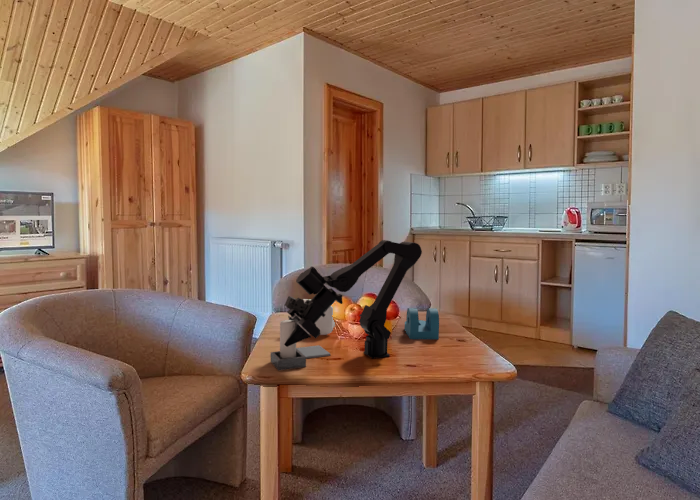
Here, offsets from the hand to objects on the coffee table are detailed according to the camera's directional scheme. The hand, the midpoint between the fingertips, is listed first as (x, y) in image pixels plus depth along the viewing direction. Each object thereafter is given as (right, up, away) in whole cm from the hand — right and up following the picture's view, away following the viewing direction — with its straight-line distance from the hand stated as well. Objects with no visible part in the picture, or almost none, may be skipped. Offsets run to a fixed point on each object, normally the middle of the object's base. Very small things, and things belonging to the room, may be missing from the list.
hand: (283, 343), depth 139 cm
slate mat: (+7, -6, +12) cm, 15 cm away
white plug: (+1, -7, +1) cm, 7 cm away
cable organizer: (+6, -4, +40) cm, 40 cm away
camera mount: (+47, -4, +40) cm, 61 cm away
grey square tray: (+1, -7, +1) cm, 7 cm away
